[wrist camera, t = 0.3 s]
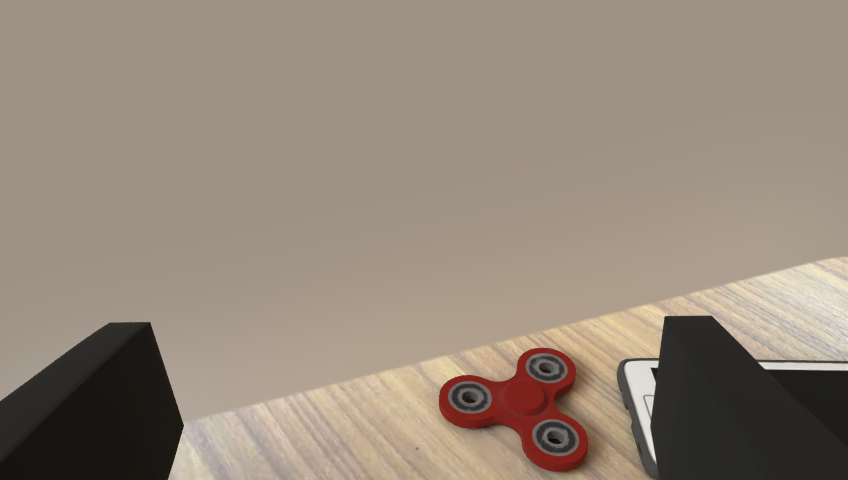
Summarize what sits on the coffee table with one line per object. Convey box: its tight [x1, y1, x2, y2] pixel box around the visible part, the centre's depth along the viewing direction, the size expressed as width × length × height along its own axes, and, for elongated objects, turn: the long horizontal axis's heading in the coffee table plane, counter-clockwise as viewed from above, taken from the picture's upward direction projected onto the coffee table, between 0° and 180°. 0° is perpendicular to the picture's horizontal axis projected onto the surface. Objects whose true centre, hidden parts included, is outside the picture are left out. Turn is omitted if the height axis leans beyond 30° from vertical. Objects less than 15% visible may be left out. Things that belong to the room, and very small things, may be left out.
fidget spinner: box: [439, 348, 588, 472], centre depth 38 cm, size 8×7×1 cm
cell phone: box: [617, 358, 848, 480], centre depth 37 cm, size 8×15×1 cm, turn 90°
